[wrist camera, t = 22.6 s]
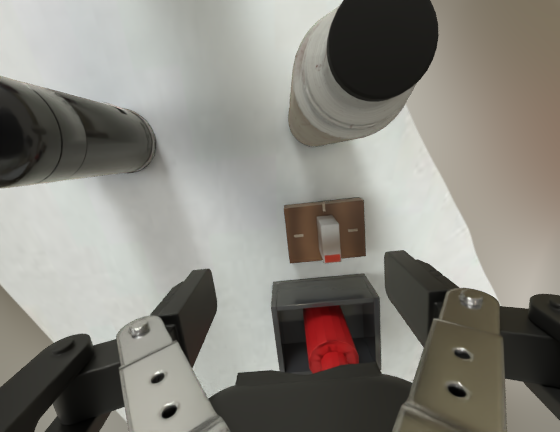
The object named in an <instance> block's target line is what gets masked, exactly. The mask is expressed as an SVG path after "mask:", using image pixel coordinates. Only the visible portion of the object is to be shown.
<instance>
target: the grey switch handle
mask: <svg viewBox="0 0 560 432" xmlns="http://www.w3.org/2000/svg"><path fill="white" fill-rule="evenodd" d="M317 228H318V240H319V250H320V253H321V256H322V259H323V262H324V263H333V262H341V249H340V234H339V223H338V222H337V221H336V220H335V218H334V217H333V216H332V215H328V216H319V217H317Z"/></svg>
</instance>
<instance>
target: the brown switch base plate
mask: <svg viewBox="0 0 560 432" xmlns="http://www.w3.org/2000/svg"><path fill="white" fill-rule="evenodd" d="M284 214H285V223H286V232H287V241H288V250H289V259H290V263H299V262H309V261H319V260H323V259H322V256H321V253H320V250H319V240H318V228H317V217H319V216H328V215H332V216H333V217H334V218H335V220H336V221H337V222H338V223H339V234H340V249H341V258H350V257H361V256H366V249H365V222H364V200H362V199H361V198H359V197H358V198H349V199H339V200H330V201H321V202H311V203H302V204H292V205H284Z"/></svg>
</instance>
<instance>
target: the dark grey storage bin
mask: <svg viewBox="0 0 560 432" xmlns="http://www.w3.org/2000/svg"><path fill="white" fill-rule="evenodd" d="M337 305H340V307H341V309H342V312H343V314H344V317H345V320H346V323H347V325H348V328H349V331H350V334H351V336H352V339H353V342H354V345H355V347H356V350H357V353H358V356H359V363H371V362H377V365H378V367H379V369H380V370H381V339H380V299H379V296H378V294H377V293H376V291H375V290H374V288H373V286H372V285H371V283H370V282H369V280H368V279H367V277H366V276H365V274H354V275H343V276H332V277H322V278H311V279H300V280H290V281H279V282H273V290H272V301H271V311H272V318H273V325H274V333H275V340H276V348H277V355H278V362H279V370H280V372H287V373H294V374H301V375H310V374H313V373H312V371H311V370H310V368H309V361H308V352H307V343H306V335H305V326H304V317H303V310H304V308H315V307H326V306H337Z"/></svg>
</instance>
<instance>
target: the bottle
mask: <svg viewBox="0 0 560 432" xmlns="http://www.w3.org/2000/svg"><path fill="white" fill-rule="evenodd" d="M303 317H304V326H305V335H306V343H307V352H308V361H309V368H310V370H311V371H312V373H317V372H320V371H323V370H326V369H330V368H333V367H336V366H339V365H345V364H358V363H359V356H358V353H357V350H356V347H355V345H354V342H353V339H352V336H351V334H350V331H349V328H348V325H347V323H346V320H345V317H344V314H343V312H342V309H341V307H340V305H337V306H326V307H315V308H304V310H303Z"/></svg>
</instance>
